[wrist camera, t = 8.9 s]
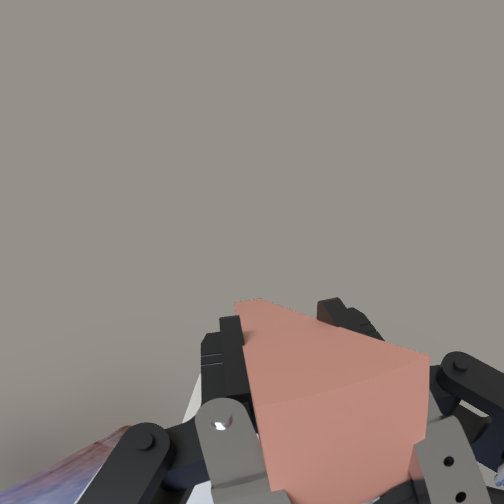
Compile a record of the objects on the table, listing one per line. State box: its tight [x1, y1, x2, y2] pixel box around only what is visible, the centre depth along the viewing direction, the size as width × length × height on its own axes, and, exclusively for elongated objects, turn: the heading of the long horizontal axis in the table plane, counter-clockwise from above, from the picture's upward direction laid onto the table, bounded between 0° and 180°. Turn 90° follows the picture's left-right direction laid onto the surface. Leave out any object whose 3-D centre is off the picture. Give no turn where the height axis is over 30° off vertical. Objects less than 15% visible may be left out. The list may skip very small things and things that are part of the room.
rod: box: [234, 298, 429, 504], centre depth 17 cm, size 28×3×3 cm, turn 4°
